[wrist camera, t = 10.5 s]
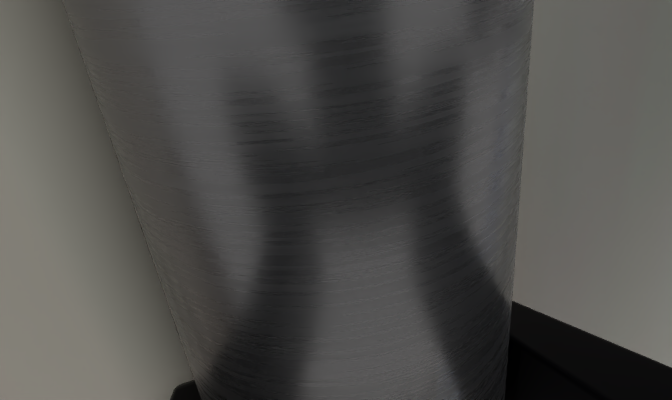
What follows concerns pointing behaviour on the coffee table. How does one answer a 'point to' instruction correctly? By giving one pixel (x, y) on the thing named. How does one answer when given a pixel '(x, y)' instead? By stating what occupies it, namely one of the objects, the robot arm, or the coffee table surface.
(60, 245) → the coffee table surface
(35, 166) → the coffee table surface
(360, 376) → the axle
